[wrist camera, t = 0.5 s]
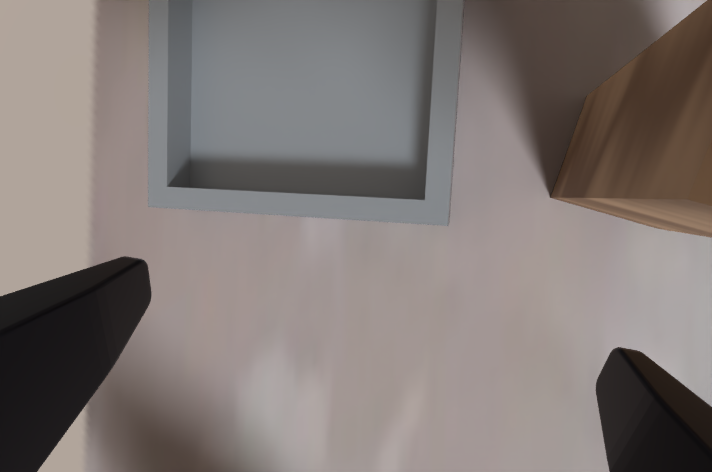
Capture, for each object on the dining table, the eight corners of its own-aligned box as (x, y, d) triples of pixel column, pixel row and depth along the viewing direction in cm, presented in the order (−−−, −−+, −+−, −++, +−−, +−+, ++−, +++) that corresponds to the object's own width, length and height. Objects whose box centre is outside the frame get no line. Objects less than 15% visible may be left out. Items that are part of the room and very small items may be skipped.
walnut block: (658, 228, 19) (1006, 285, 7) (550, 197, 20) (691, 199, 8) (700, 123, 19) (1164, -18, 6) (587, 96, 19) (803, -76, 7)
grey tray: (449, 222, 21) (447, 225, 19) (179, 205, 24) (148, 206, 22) (471, -101, 20) (472, -143, 17) (182, -76, 23) (149, -108, 20)
